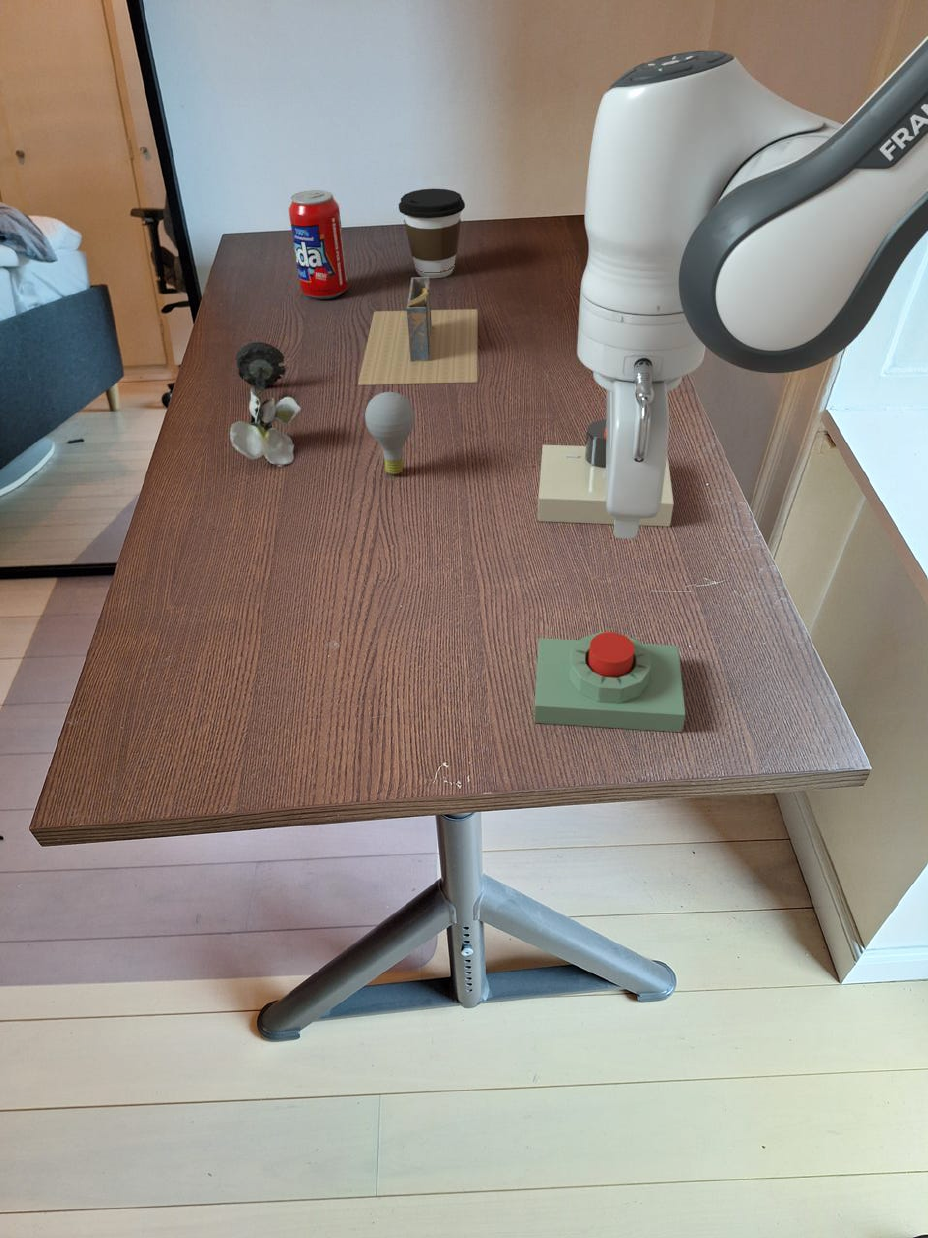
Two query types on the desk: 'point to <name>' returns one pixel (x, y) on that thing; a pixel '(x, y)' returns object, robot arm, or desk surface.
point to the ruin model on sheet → (421, 343)
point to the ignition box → (609, 688)
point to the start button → (611, 654)
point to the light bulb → (390, 426)
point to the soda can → (318, 244)
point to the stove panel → (584, 490)
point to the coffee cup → (432, 229)
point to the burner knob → (596, 444)
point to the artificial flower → (264, 407)
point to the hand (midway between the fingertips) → (624, 498)
